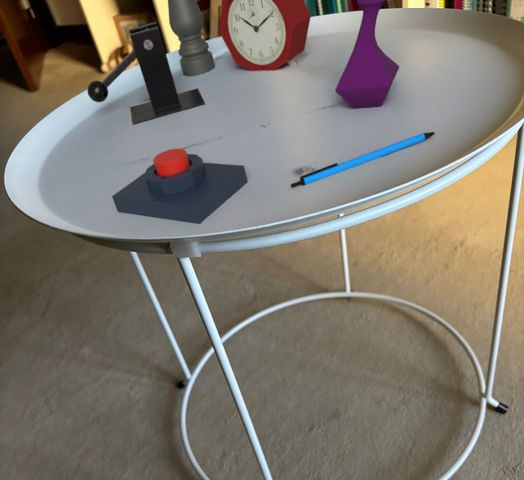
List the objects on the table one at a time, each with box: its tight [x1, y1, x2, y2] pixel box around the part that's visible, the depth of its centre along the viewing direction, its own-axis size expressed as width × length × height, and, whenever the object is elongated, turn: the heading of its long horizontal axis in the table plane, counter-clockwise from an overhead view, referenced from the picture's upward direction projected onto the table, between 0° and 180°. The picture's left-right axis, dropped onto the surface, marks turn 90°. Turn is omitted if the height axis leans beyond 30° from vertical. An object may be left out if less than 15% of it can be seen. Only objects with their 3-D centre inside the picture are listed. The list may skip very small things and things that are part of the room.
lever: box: [86, 27, 149, 103], centre depth 92 cm, size 14×3×3 cm, turn 103°
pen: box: [290, 131, 437, 188], centre depth 69 cm, size 1×19×1 cm, turn 112°
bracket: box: [128, 21, 206, 126], centre depth 94 cm, size 12×9×13 cm
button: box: [152, 148, 190, 176], centre depth 69 cm, size 4×4×2 cm
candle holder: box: [167, 0, 216, 77], centre depth 103 cm, size 6×6×25 cm
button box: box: [111, 153, 249, 225], centre depth 71 cm, size 13×10×4 cm
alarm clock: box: [218, 0, 312, 72], centre depth 98 cm, size 15×9×20 cm, turn 58°
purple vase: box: [334, 0, 400, 109], centre depth 78 cm, size 8×8×18 cm
